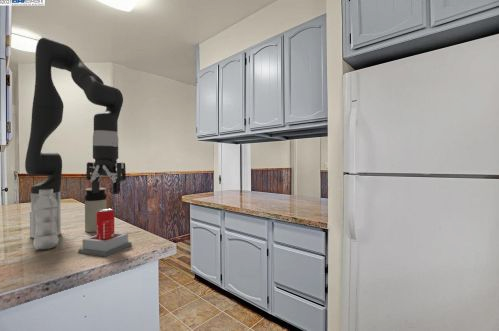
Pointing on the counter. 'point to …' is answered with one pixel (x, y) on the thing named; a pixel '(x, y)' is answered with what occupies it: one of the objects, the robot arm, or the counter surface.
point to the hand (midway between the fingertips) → (105, 193)
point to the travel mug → (93, 208)
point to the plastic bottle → (46, 220)
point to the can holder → (104, 245)
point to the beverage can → (105, 224)
